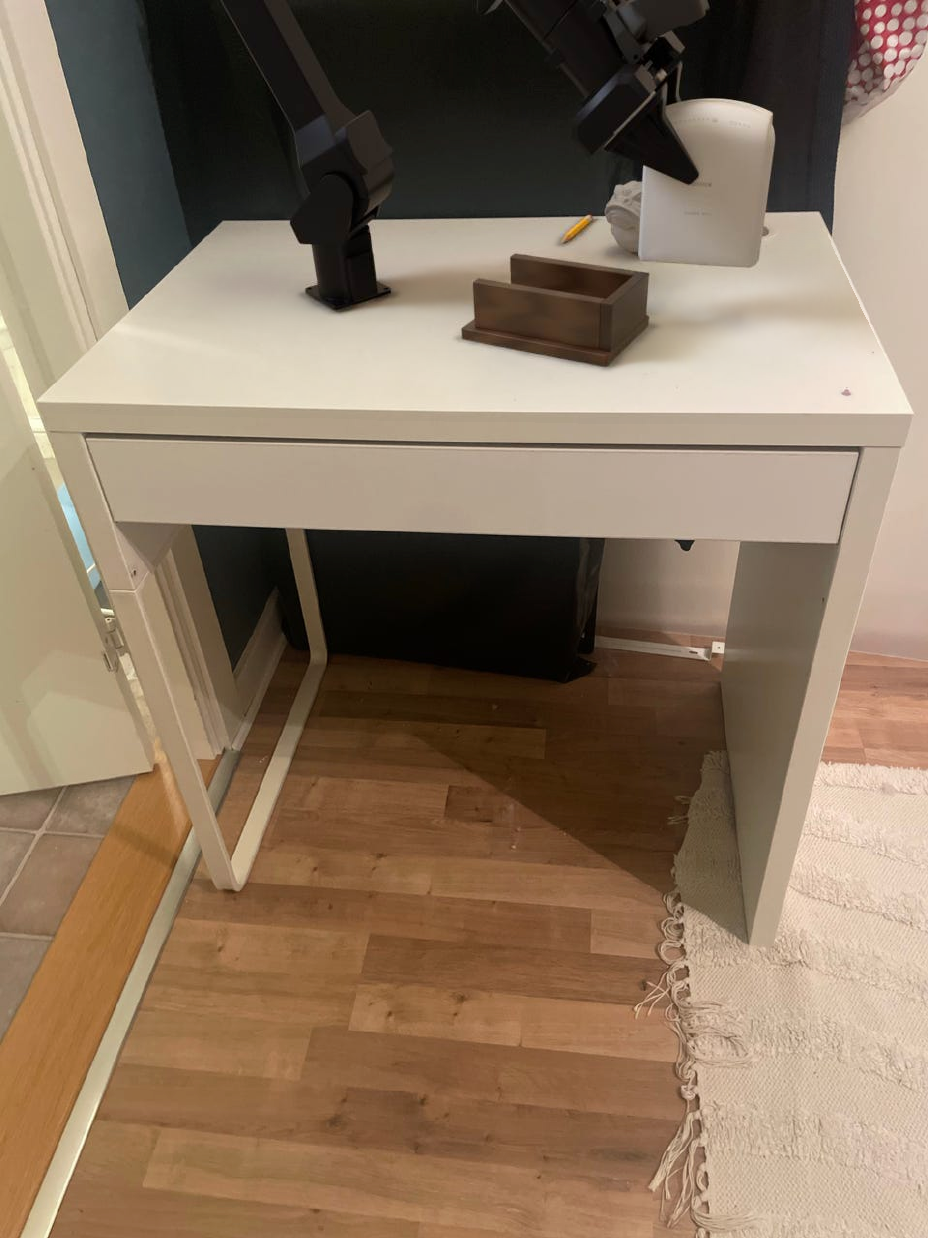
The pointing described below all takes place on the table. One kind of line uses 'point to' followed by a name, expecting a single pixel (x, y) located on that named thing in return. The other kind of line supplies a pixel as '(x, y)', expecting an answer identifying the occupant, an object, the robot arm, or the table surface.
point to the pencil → (577, 228)
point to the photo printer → (711, 187)
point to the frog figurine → (625, 215)
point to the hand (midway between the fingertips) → (698, 172)
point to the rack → (561, 309)
